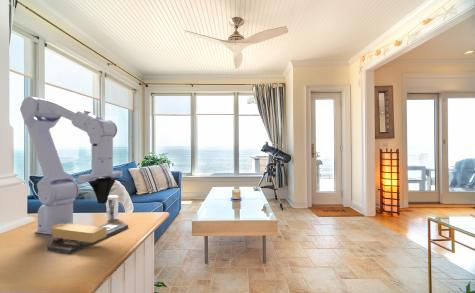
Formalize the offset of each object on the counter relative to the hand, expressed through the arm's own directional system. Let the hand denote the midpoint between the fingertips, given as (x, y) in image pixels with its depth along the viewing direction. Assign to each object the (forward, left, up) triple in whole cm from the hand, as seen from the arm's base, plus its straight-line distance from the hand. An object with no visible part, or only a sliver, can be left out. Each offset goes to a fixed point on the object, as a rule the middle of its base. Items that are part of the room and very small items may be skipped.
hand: (102, 202), depth 72 cm
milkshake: (-9, +13, -10) cm, 19 cm away
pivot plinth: (-8, -8, -10) cm, 15 cm away
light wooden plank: (-1, -8, -8) cm, 11 cm away
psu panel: (-1, -3, -10) cm, 10 cm away
